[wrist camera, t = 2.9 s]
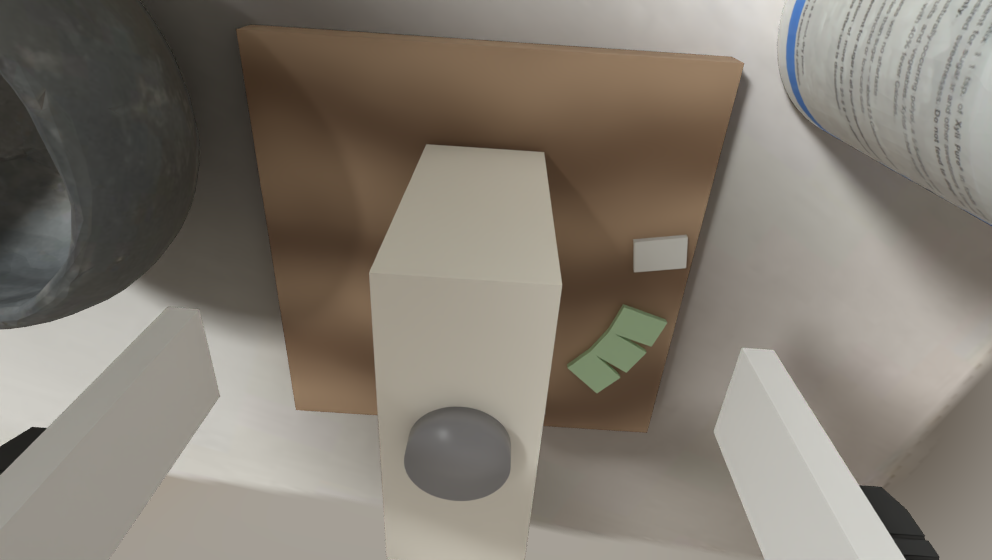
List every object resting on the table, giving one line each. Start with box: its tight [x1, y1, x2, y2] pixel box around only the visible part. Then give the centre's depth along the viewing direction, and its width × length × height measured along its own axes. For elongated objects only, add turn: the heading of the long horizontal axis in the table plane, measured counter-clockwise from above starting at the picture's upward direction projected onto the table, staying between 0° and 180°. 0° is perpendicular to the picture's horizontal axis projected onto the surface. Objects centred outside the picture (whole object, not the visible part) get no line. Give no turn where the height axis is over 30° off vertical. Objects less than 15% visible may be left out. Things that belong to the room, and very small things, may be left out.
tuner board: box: [236, 25, 744, 433], centre depth 28 cm, size 20×20×2 cm
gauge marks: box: [567, 235, 688, 393], centre depth 29 cm, size 12×10×1 cm
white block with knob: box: [369, 144, 562, 560], centre depth 23 cm, size 16×5×12 cm, turn 177°
